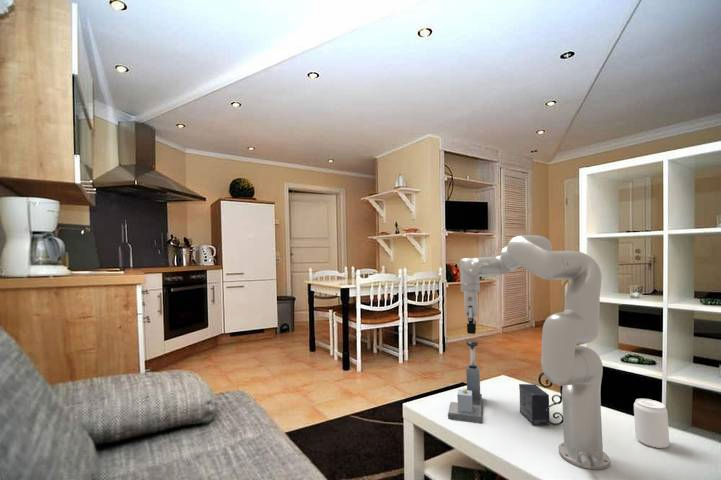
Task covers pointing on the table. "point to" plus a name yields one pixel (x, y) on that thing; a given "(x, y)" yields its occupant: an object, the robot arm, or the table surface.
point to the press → (473, 386)
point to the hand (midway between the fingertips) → (471, 331)
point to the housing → (465, 400)
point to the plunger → (472, 351)
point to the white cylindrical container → (651, 423)
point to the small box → (534, 404)
